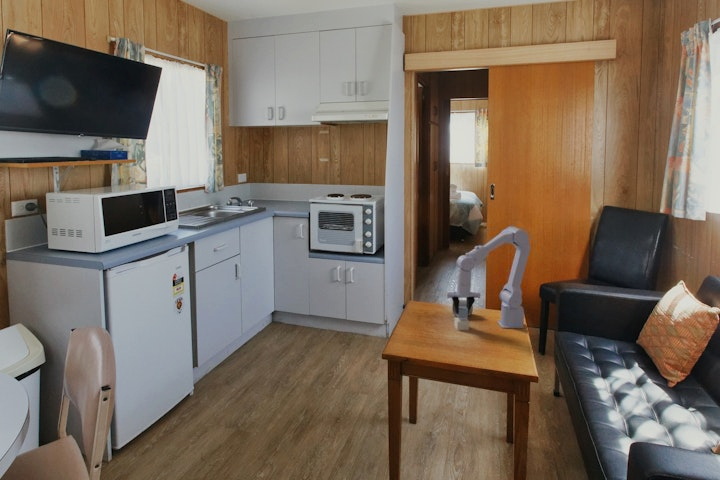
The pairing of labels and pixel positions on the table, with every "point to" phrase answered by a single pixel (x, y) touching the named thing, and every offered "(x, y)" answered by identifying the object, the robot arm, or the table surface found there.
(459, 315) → the blue cube
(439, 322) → the table surface
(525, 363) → the table surface
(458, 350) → the table surface
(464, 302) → the ceramic mug
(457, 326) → the cream block
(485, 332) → the table surface
